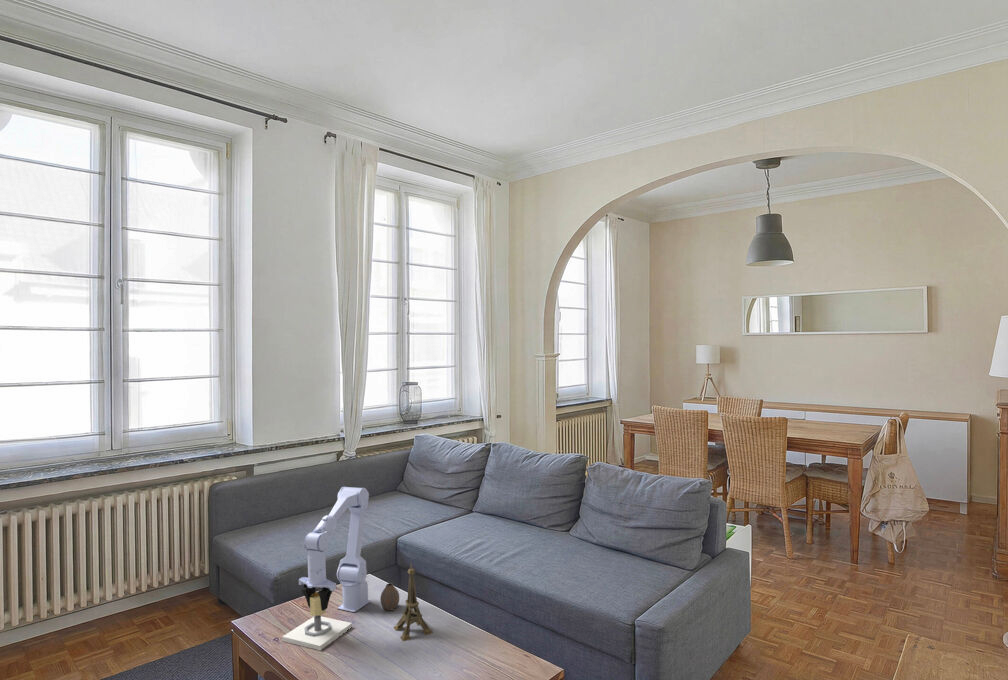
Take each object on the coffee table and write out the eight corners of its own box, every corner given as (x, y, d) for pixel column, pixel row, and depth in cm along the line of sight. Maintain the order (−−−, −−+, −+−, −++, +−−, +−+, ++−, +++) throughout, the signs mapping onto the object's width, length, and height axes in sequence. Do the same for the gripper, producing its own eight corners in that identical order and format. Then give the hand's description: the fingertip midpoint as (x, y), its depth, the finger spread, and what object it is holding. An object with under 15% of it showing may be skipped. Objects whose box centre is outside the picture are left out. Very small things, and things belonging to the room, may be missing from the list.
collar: (317, 607, 204) (316, 590, 204) (328, 610, 202) (328, 592, 202) (307, 614, 199) (306, 596, 199) (318, 616, 197) (318, 598, 197)
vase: (383, 614, 214) (383, 590, 214) (378, 606, 220) (377, 583, 220) (402, 609, 217) (401, 585, 217) (396, 602, 223) (395, 579, 223)
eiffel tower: (393, 627, 204) (391, 555, 204) (422, 620, 209) (420, 549, 209) (402, 641, 195) (400, 566, 194) (432, 633, 200) (430, 559, 199)
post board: (316, 619, 211) (315, 602, 211) (352, 627, 205) (351, 610, 205) (282, 641, 197) (281, 623, 197) (320, 650, 190) (319, 631, 190)
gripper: (291, 569, 200) (293, 609, 200) (325, 575, 194) (326, 616, 194) (306, 562, 206) (307, 600, 206) (339, 567, 200) (341, 607, 201)
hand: (318, 607), depth 201 cm, fingers closed on collar, 5 cm apart
